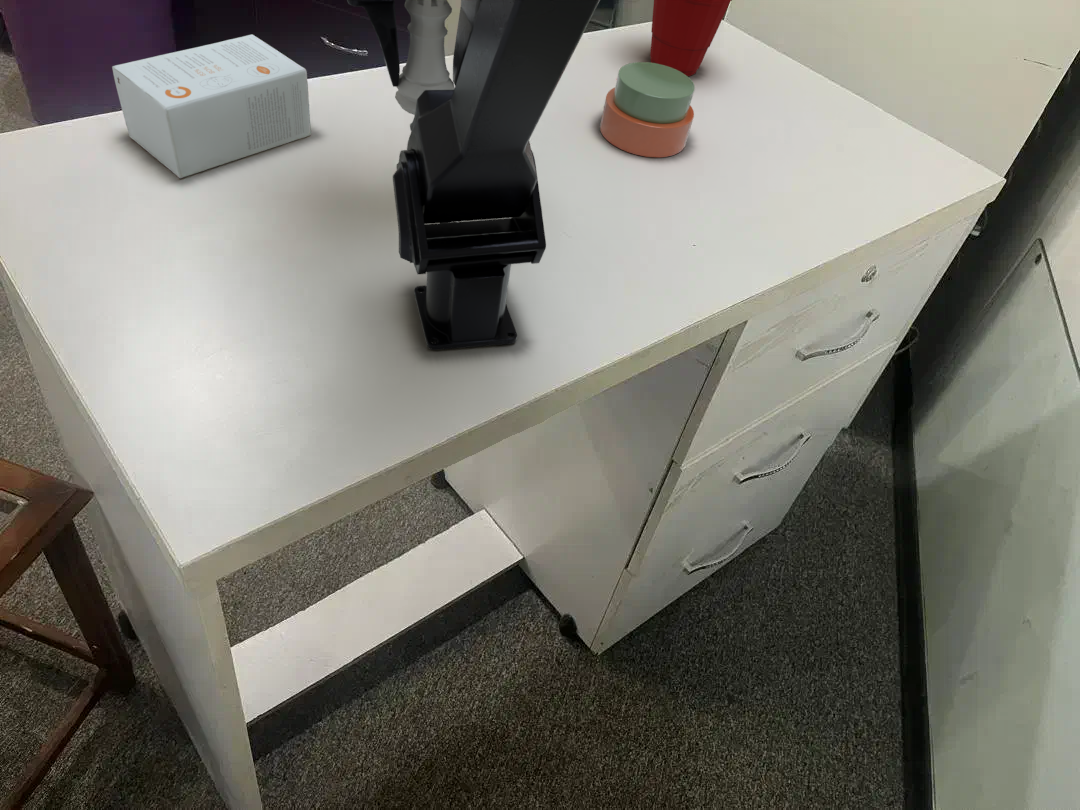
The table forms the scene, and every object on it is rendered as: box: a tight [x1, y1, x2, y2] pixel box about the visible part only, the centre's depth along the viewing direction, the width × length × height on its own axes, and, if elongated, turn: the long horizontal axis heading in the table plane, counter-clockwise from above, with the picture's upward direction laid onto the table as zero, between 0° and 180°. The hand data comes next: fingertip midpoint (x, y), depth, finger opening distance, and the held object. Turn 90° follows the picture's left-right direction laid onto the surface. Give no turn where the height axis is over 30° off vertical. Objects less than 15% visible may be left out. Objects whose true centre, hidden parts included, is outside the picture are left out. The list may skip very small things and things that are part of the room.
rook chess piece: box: [394, 0, 455, 116], centre depth 56 cm, size 4×4×8 cm
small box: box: [111, 34, 312, 179], centre depth 67 cm, size 8×6×13 cm
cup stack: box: [599, 61, 696, 158], centre depth 78 cm, size 9×9×6 cm
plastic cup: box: [649, 0, 733, 77], centre depth 89 cm, size 11×11×12 cm
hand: (426, 84), depth 57 cm, fingers closed on rook chess piece, 4 cm apart
